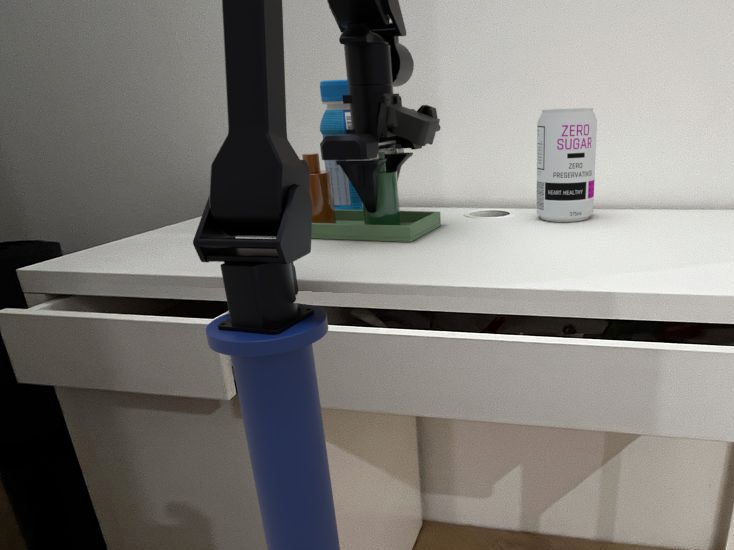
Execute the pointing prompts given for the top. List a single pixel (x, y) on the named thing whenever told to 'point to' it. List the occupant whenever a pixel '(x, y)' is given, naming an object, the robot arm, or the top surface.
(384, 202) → the green bottle
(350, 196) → the beverage bottle
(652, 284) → the top surface
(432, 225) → the tray
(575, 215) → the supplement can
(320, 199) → the amber bottle near
